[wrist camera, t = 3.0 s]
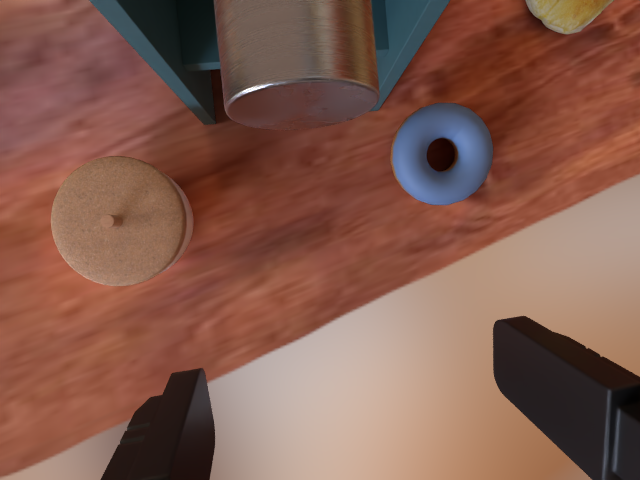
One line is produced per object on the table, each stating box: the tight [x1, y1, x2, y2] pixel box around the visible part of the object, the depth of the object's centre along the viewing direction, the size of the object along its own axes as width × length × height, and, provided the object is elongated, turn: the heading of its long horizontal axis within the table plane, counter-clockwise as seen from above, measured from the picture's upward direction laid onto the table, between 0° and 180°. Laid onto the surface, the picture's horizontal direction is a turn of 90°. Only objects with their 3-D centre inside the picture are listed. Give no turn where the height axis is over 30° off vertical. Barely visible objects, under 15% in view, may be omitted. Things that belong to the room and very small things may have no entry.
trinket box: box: [51, 156, 194, 286], centre depth 35 cm, size 11×11×9 cm
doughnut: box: [390, 103, 493, 205], centre depth 38 cm, size 10×10×5 cm
